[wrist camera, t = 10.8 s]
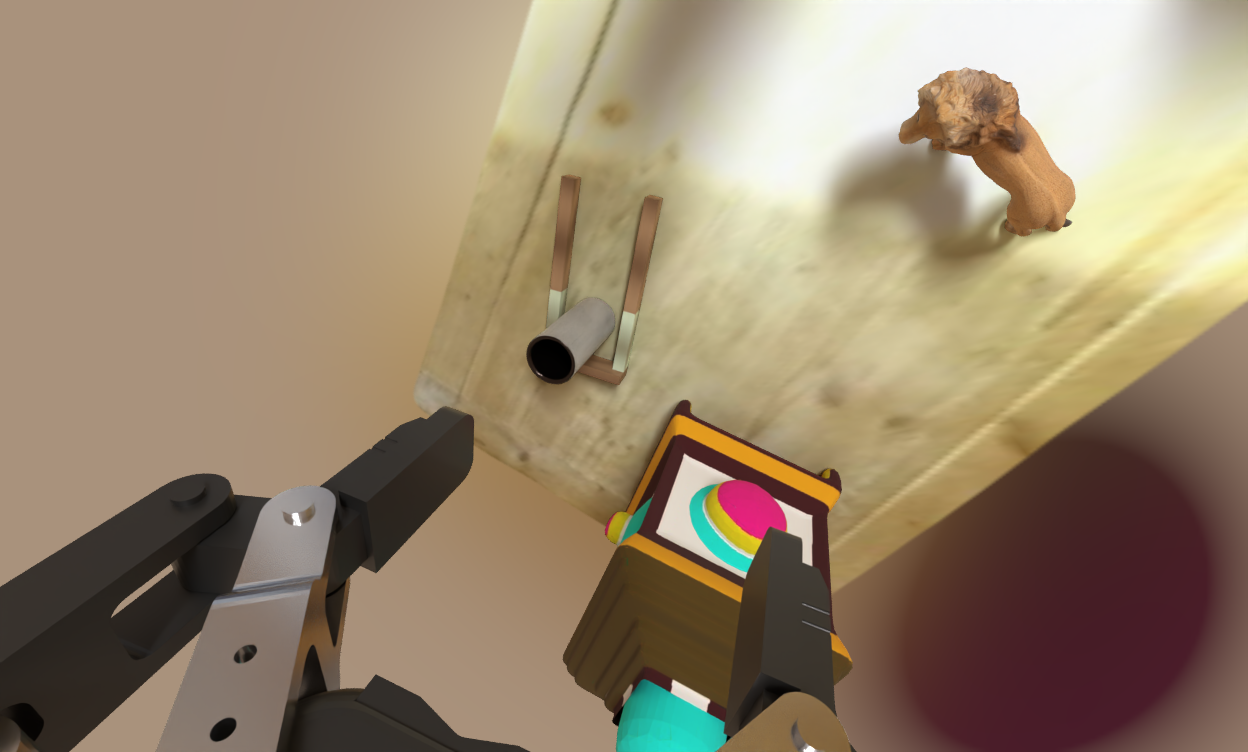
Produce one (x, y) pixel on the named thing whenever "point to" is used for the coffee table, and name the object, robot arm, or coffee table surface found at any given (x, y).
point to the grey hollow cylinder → (570, 341)
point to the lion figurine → (994, 145)
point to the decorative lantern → (691, 582)
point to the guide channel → (636, 285)
